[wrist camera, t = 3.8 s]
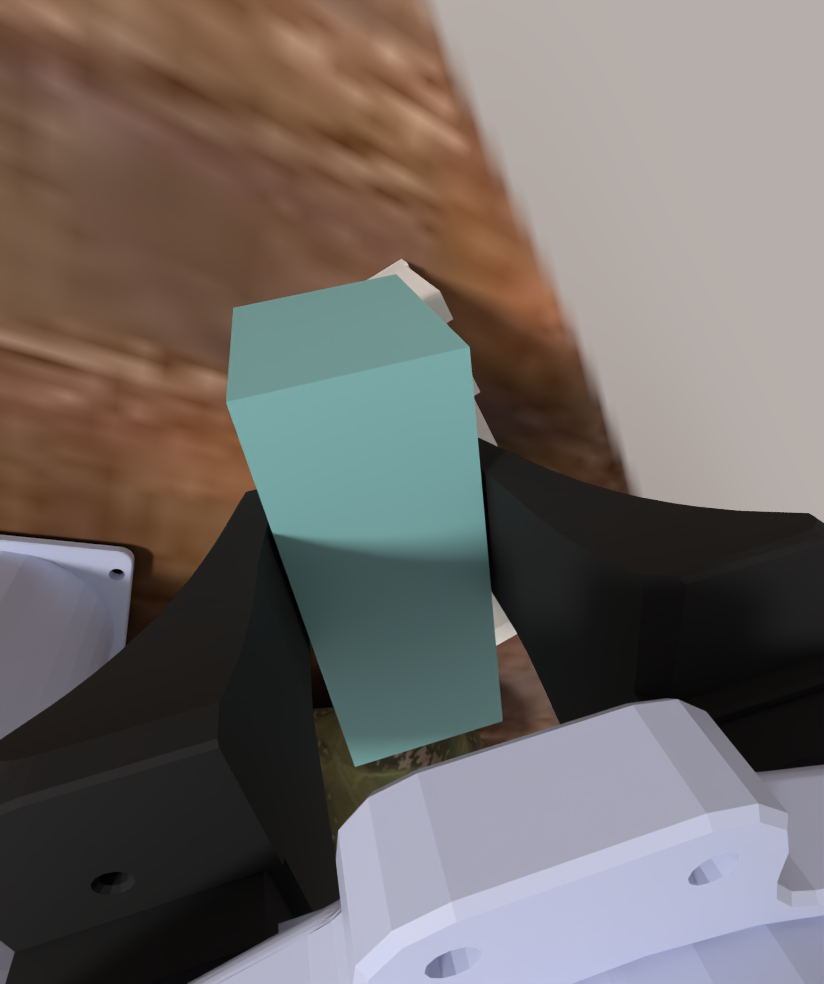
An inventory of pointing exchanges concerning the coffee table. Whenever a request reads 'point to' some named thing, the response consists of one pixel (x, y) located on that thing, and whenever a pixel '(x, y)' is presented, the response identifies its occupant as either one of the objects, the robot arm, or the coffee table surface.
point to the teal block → (374, 504)
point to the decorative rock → (371, 766)
